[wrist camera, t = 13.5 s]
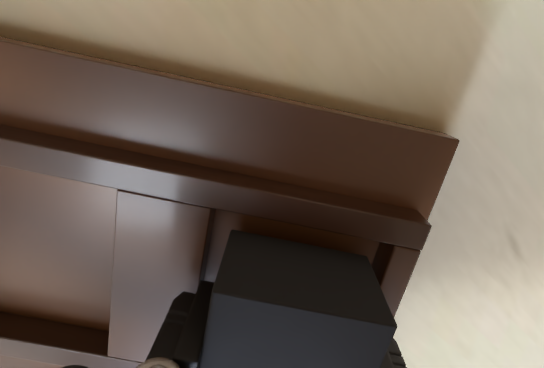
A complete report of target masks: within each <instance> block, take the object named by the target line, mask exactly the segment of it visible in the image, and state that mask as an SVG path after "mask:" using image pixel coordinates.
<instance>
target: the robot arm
mask: <svg viewBox="0 0 544 368" xmlns="http://www.w3.org/2000/svg"><path fill="white" fill-rule="evenodd" d="M213 286H214V282H209V281H204V280H201V281H200V284H199V286H198V289H197V292H196V294H195V293H190V292H185V291H183V292H182V293H181V294H180V295H178V296H177V297H176V298H175V299H174V300H173V302H172V304H171V306H170V308H169V311H168V313H167V315H166V317H165V319H164V322H163V324H162V326H161V328H160V330H159V332H158V335H157V337H156V339H155V341H154V343H153V346H152V348H151V350H150V352H149V354H148V356H147V358H146V360H145V361H143V362H142V363H140V364H139V365H138V366H137V367H136V368H199V363H200V357H201V352H202V346H203V339H204V333H205V327H206V322H207V316H208V310H209V305H210V299H211V293H212V289H213ZM62 368H88V367H86V366H82V365H69V366H65V367H62ZM380 368H407V367H406V364H405V362H404V359H403V357H401V352H400V350H399V347H398V345H397V342H396V341H395V340H394V338H392V340H391V343H390V345H389V347H388V350H387V352H386V355H385V357H384V359H383V362H382V364H381V367H380Z"/></svg>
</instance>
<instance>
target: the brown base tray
mask: <svg viewBox="0 0 544 368" xmlns="http://www.w3.org/2000/svg"><path fill="white" fill-rule="evenodd" d="M458 144H459V140H458V139H456V138H454V137H451V136H449V135H447V134H445V133H440V132H436V131H431V130H427V129H422V128H417V127H413V126H408V125H404V124H399V123H394V122H390V121H385V120H381V119H376V118H371V117H367V116H362V115H358V114H353V113H348V112H344V111H339V110H335V109H330V108H325V107H321V106H316V105H312V104H307V103H302V102H298V101H293V100H289V99H284V98H279V97H275V96H270V95H266V94H261V93H256V92H252V91H247V90H243V89H238V88H233V87H229V86H224V85H220V84H215V83H210V82H206V81H201V80H197V79H192V78H187V77H183V76H178V75H174V74H169V73H164V72H160V71H155V70H151V69H146V68H141V67H137V66H132V65H128V64H123V63H118V62H114V61H109V60H105V59H100V58H95V57H91V56H86V55H82V54H77V53H72V52H68V51H63V50H59V49H54V48H49V47H45V46H40V45H36V44H31V43H26V42H22V41H17V40H13V39H8V38H3V37H0V368H62V367H65V366H69V365H82V366H86V367H88V368H136V367H137V366H138V365H139V364H140V363H142V362H143V361H145V360H146V358H147V356H148V354H149V352H150V350H151V348H152V346H153V343H154V341H155V339H156V337H157V335H158V332H159V330H160V328H161V326H162V324H163V322H164V319H165V317H166V315H167V313H168V311H169V308H170V306H171V304H172V302H173V300H174V299H175V298H176V297H177V296H178V295H180V294H181V293H182V292H183V291H185V292H190V293H195V294H196V292H197V289H198V286H199V284H200V281H201V280H204V281H209V282H214V283H215V279H216V276H217V273H218V270H219V266H220V263H221V260H222V257H223V254H224V250H225V247H226V244H227V241H228V237H229V234H230V231H231V230H238V231H243V232H248V233H253V234H258V235H263V236H268V237H273V238H278V239H283V240H288V241H293V242H298V243H303V244H308V245H313V246H318V247H323V248H328V249H334V250H339V251H344V252H349V253H354V254H359V255H364V256H367V257H368V260H369V262H370V264H371V266H372V269H373V271H374V273H375V276H376V278H377V280H378V283H379V285H380V287H381V290H382V292H383V294H384V296H385V299H386V301H387V303H388V306H389V308H390V310H391V313H392V315H393V317H394V316H395V313H396V311H397V309H398V306H399V304H400V301H401V299H402V296H403V294H404V292H405V289H406V287H407V284H408V282H409V279H410V277H411V275H412V272H413V270H414V267H415V265H416V262H417V260H418V258H419V255H420V252H421V251H420V250H422V249H423V246H424V244H425V241H426V239H427V237H428V234H429V232H430V229H431V224H430V223H429V222H428V221H427V220H428V218H429V215H430V213H431V210H432V208H433V205H434V203H435V200H436V198H437V195H438V193H439V191H440V188H441V186H442V183H443V181H444V178H445V176H446V173H447V171H448V168H449V166H450V163H451V161H452V158H453V156H454V153H455V151H456V148H457V146H458Z"/></svg>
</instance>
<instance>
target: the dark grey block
mask: <svg viewBox="0 0 544 368" xmlns="http://www.w3.org/2000/svg"><path fill="white" fill-rule="evenodd" d="M396 328H397V324H396V322H395V320H394V317H393V315H392V313H391V310H390V308H389V306H388V303H387V301H386V299H385V296H384V294H383V292H382V290H381V287H380V285H379V283H378V280H377V278H376V276H375V273H374V271H373V269H372V266H371V264H370V262H369V260H368V257H367V256H364V255H359V254H354V253H349V252H344V251H339V250H334V249H328V248H323V247H318V246H313V245H308V244H303V243H298V242H293V241H288V240H283V239H278V238H273V237H268V236H263V235H258V234H253V233H248V232H243V231H238V230H231V231H230V234H229V237H228V241H227V244H226V247H225V250H224V254H223V257H222V260H221V263H220V266H219V270H218V273H217V276H216V279H215V283H214V286H213V289H212V293H211V299H210V305H209V310H208V316H207V322H206V327H205V333H204V339H203V346H202V352H201V357H200V363H199V368H380V367H381V364H382V362H383V359H384V357H385V355H386V352H387V350H388V347H389V345H390V343H391V340H392V338H393V336H394V333H395V331H396Z"/></svg>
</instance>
